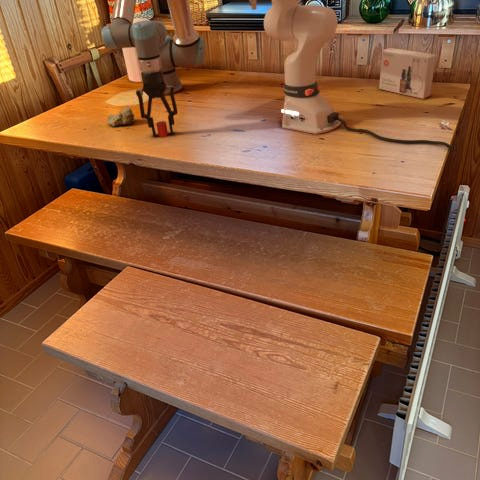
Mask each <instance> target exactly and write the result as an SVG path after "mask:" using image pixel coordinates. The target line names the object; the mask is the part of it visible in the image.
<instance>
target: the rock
mask: <svg viewBox="0 0 480 480" xmlns="http://www.w3.org/2000/svg"><path fill="white" fill-rule="evenodd" d="M134 121H135V114H134V113H133V110H132V108H131V107H128V106H127V107H125V108H123V109H121V110H119V113H117V114H108V115H107V123H108V125H109V126H110V127H118V126H119V127H120V126H126V125H131V124H132V123H134Z"/></svg>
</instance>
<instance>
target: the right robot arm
mask: <svg viewBox="0 0 480 480" xmlns="http://www.w3.org/2000/svg"><path fill="white" fill-rule="evenodd" d="M257 2H258V0H249V6H250V7H251V10H252V11H255V10H257ZM301 2H302V0H271V7H270V8H268V10H267V11H266V13H265V15H264V17H263V28H264V32H265V34H266V35H267V37H269V38H271V39H274V40H277V41H281V42H297V50H296V51H294V52H292V53H290V54H288V56H287V57H286V58H285V60H284V62H283V67H284V68H283V70H284V82H283V89H282V90H283V94H284V103H283V109H281V113H282V116H281V120H280V121H281V128H282V129H288V130H292V131H298V132H303V133H309V134H313V135H314V134H315V135H319V134H324V133H328V132H331V131H332V130H335V129H337V128H338V127H339V126H340V125H341V124H342V125H343V128H344V129H345V130H347V131H349V132H356V133H366V134H368V135H370V136H373V137H374V138H376V139H379V140H381V141H386V142H391V143H398V144H428V145H439V146H444V147H446V148H447V149H448V150H449V151H450V152H451V153H453V152H455V149H454V148H453V146H452V145H451V144H450V143H447V142H445V141H439V140H429V139H411V140H410V139H397V138H390V137H385V136H382V135H378V134H376V133H375V132H373V131H371V130H368V129H366V128H365V129H364V128H352V127H349V126H348V125H347V122H346V121H345V120H344V119H342V118H340V117H339V116H340V113H339V112H337V111H335V110H334V109H335V108H334V106H333V105H332V104H331V103H330V102H329V101H328V100H327V99H326V98H325V97H324V96H323V95H322V94H321V93H320V90H321V89H322V86H323V85H322V84H320V85H319V84H318V81H317V63H318V57H319V54H320V52H321V50H322V48H323V47H324V46H325V44H326V43H327V42H329V41H330V40H331V39H332V38H333V37H334V35H335V34H336V32H337V29H338V17H337V16H338V15H337V14H336V12H335V11H334V9H333V8H331V7H327V6H324V5H318V4H317V5H311V4H310V5H309V4H307V5H306V4H305V5H304V4H300V3H301ZM453 201H454V197H453V198H451V199H450V200H448V205H447V209H446V214H445V218H444V222H443V227H442V231H441V236H440V241H439V248H440V249H442V248H443V247H444V241H445V236H446V232H447V227H448V223H449V218H450V214H451V209H452V206H453Z"/></svg>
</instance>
